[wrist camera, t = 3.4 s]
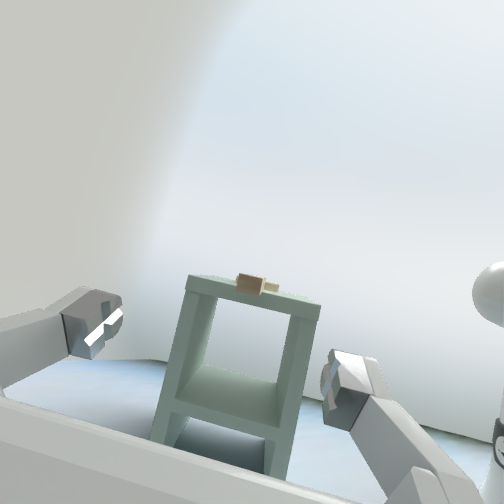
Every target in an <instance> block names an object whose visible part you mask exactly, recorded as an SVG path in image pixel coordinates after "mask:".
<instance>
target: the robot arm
mask: <svg viewBox="0 0 504 504" xmlns="http://www.w3.org/2000/svg"><path fill="white" fill-rule="evenodd" d="M472 296H473V301H474V305H475V307H476V309H477V310H478V312H479V313H480V314H481V315H482V316H483V317H484V318H486V319H487V320H489V321H491V322H493V323H495V324H497V325H499V326H501V327H504V262H499V263H496V264H493V265H491V266H489V267H487V268H486V269H485V270H484V271H483V272H481V274H480V275H479V276H478V277H477V279H476V281H475V283H474V285H473V290H472ZM121 305H122V300H121V297H120V296H118V295H115V294H111V293H107V292H104V291H100V290H97V289H92V288H89V287H85V286H82V287H78V288H77V289H75V290H73V291H72V292H70V293H69V294H67V295H66V296H64V297H63V298H61V299H59V300H58V301H56V302H55V303H53V304H52V305H50V306H49V307H47V308H45V309H44V310H43V309H36V310H33V311H29V312H26V313H21V314H17V315H14V316H10V317H6V318H2V319H0V504H361V503H357V502H354V501H351V500H347V499H344V498H340V497H337V496H334V495H330V494H327V493H324V492H320V491H317V490H314V489H310V488H307V487H303V486H300V485H297V484H293V483H290V482H287V481H283V480H280V479H277V478H273V477H270V476H267V475H263V474H260V473H256V472H253V471H250V470H246V469H243V468H240V467H236V466H233V465H230V464H226V463H223V462H220V461H216V460H213V459H209V458H206V457H203V456H199V455H196V454H193V453H189V452H186V451H183V450H179V449H176V448H173V447H169V446H166V445H163V444H159V443H156V442H153V441H149V440H146V439H143V438H139V437H136V436H132V435H129V434H126V433H122V432H119V431H116V430H112V429H109V428H106V427H102V426H99V425H96V424H92V423H89V422H86V421H82V420H79V419H75V418H72V417H69V416H65V415H62V414H59V413H55V412H52V411H49V410H45V409H42V408H39V407H35V406H32V405H29V404H25V403H22V402H18V401H15V400H12V399H8V398H6V397H5V395H4V392H3V389H4V388H6V387H8V386H10V385H12V384H14V383H16V382H18V381H20V380H22V379H24V378H26V377H28V376H30V375H32V374H34V373H36V372H38V371H40V370H42V369H44V368H46V367H48V366H50V365H52V364H54V363H56V362H58V361H60V360H62V359H64V358H66V357H68V356H69V355H72V356H77V357H81V358H85V359H89V360H92V359H93V358H94V357H95V356H96V355H97V353H99V352H100V351H101V350H102V348H103V347H104V346H105V341H106V340H109V339H111V338H113V337H114V336H115V335H116V334H117V333H118V331H119V329H120V327H121V325H122V321H123V314H122V312H121V311H120V310H119V307H120V306H121ZM328 362H329V363H328V364H326V365H325V366H324V368H323V370H322V375H321V380H320V383H321V384H320V387H321V394H322V395H323V397H324V398H325V399H324V401H323V404H322V411H323V421H324V424H325V425H329V426H332V427H335V428H338V429H342V430H345V431H348V432H350V435H351V437H352V439H353V440H354V442H355V444H356V445H357V447H358V449H359V450H360V452H361V454H362V455H363V457H364V459H365V460H366V462H367V464H368V466H369V467H370V469H371V471H372V472H373V474H374V476H375V477H376V479H377V481H378V482H379V484H380V486H381V488H382V489H383V491H384V493H385V494H386V496H387V498H388V499H387V501H386V502H385V503H384V504H504V391H503V399H502V405H501V413H500V418H497V419H496V422H495V427H494V433H493V455H492V458H491V461H490V464H489V467H488V470H487V473H486V476H485V479H484V482H483V485H481V487H480V491H479V492H478V490H477V488H476V486H475V484H474V482H473V481H472V480H471V479H470V478H469V477H468V476H467V475H466V474H465V473H464V471H463V470H462V469H461V468H460V467H459V466H458V465H457V464H456V463H455V462H454V461H453V460H452V459H451V458H450V457H449V456H448V455H447V454H446V453H445V452H444V451H443V450H442V449H441V447H440V446H439V445H438V444H437V443H436V442H435V441H434V440H433V439H432V438H431V437H430V436H429V435H428V434H427V433H426V432H425V431H424V430H423V429H422V428H421V427H420V426H419V425H418V423H416V421H415V420H414V419H413V418H412V417H411V416H410V415H409V414H408V413H407V412H406V411H405V410H404V409H403V408H402V407H401V406H400V405H399V404H398V403H397V402H395V401H392V399H391V396H390V394H389V391H388V388H387V386H386V383H385V380H384V378H383V375H382V373H381V370H380V367H379V364H378V362H377V360H376V359H375V358H370V357H366V356H359V355H356V354H352V353H348V352H344V351H339V350H335V349H331V351H330V352H329V355H328Z"/></svg>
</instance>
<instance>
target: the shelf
mask: <svg viewBox="0 0 504 504" xmlns="http://www.w3.org/2000/svg"><path fill="white" fill-rule="evenodd" d="M235 282H236V281H234V280H230V279H225V278H220V277H216V276H207V275H188V279H187V283H186V287H185V289H186V292H185V296H184V300H183V304H182V308H181V312H180V316H179V320H178V324H177V328H176V332H175V336H174V340H173V344H172V349H171V353H170V357H169V361H168V365H167V369H166V373H165V377H164V381H163V385H162V389H161V393H160V397H159V401H158V405H157V410H156V414H155V418H154V422H153V426H152V430H151V434H150V438H149V441H153V442H156V443H159V444H163V445H166V446H169V447H173V446H174V444H175V443H176V441H177V439H178V437H179V436H180V434H181V432H182V431H183V429H184V427H185V425H186V424H187V422H188V420H189V419H190V417H192V418H196V419H199V420H203V421H206V422H210V423H213V424H217V425H220V426H223V427H227V428H230V429H234V430H237V431H241V432H244V433H248V434H251V435H255V436H258V437H262V438H265V451H264V475H267V476H270V477H273V478H277V479H280V480H283V481H285V480H286V475H287V470H288V465H289V460H290V455H291V450H292V445H293V440H294V435H295V430H296V425H297V420H298V415H299V410H300V405H301V400H302V394H303V390H304V384H305V380H306V375H307V370H308V365H309V359H310V354H311V350H312V344H313V339H314V334H315V329H316V324H317V321H318V318H319V314H320V309H321V305H319V304H317V303H315V302H313V301H312V300H310V299H308V298H306V297H303V296H299V295H295V294H290V293H286V292H282V291H278V293H277V292H273V291H268V290H263V291H262V293H261V294H260V296H259V297H258V296H254V295H250V294H246V293H241V292H237V291H235V290H236V286H237V283H235ZM218 297H219V298H223V299H227V300H232V301H236V302H240V303H244V304H249V305H253V306H257V307H261V308H265V309H269V310H274V311H278V312H282V313H286V314H291V317H290V322H289V327H288V331H287V336H286V341H285V345H284V350H283V355H282V360H281V365H280V370H279V374H278V379H277V383H275V382H271V381H267V380H263V379H260V378H256V377H252V376H248V375H244V374H241V373H237V372H233V371H230V370H225V369H222V368H218V367H215V366H211V365H207V364H203V360H204V356H205V351H206V347H207V343H208V339H209V335H210V330H211V326H212V322H213V318H214V314H215V309H216V305H217V301H218Z"/></svg>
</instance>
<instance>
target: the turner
mask: <svg viewBox="0 0 504 504" xmlns="http://www.w3.org/2000/svg"><path fill="white" fill-rule="evenodd" d="M235 283H237V286H236V290H235V291H237V292H241V293H246V294H250V295H254V296H258V297H259V296H260V294H261V293H262V291H263V290H268V291H273V292H277V293H278V288H279V285H278V284H275V283H271V282H266V278H262V277H258V276H253V275H247V274H239V276H237V278H236V282H235Z"/></svg>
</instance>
